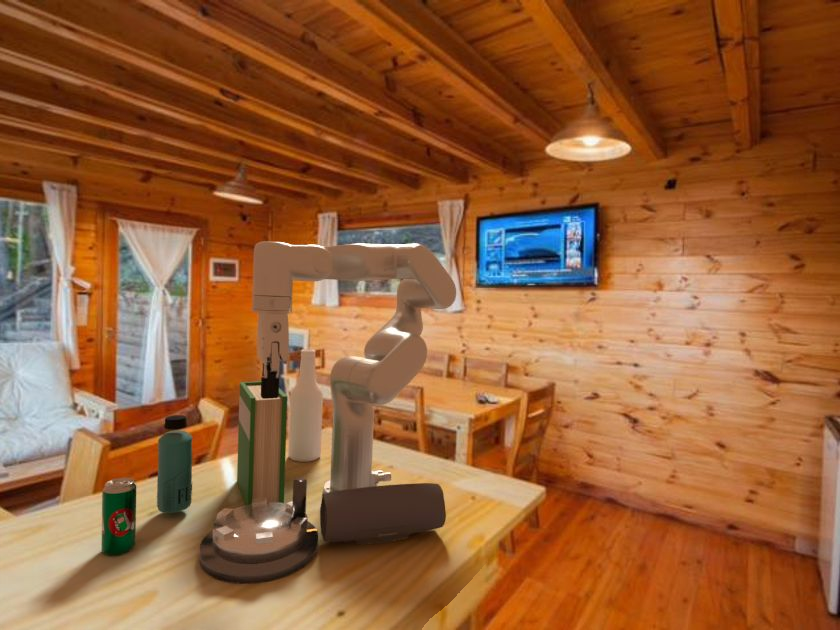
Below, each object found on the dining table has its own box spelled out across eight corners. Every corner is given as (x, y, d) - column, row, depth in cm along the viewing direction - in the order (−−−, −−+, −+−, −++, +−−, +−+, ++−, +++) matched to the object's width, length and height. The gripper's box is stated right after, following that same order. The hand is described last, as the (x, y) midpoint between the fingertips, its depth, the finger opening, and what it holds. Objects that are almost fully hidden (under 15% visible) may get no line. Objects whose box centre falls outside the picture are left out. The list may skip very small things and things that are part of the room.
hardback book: (283, 506, 105) (287, 396, 104) (247, 512, 101) (250, 398, 100) (268, 477, 120) (271, 380, 119) (237, 481, 117) (239, 382, 116)
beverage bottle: (177, 522, 96) (179, 422, 95) (148, 518, 97) (150, 418, 96) (198, 508, 102) (201, 414, 101) (171, 504, 103) (173, 411, 102)
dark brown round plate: (306, 517, 100) (307, 506, 100) (328, 569, 82) (329, 556, 82) (200, 532, 92) (200, 520, 92) (198, 594, 74) (198, 580, 74)
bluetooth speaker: (429, 520, 102) (431, 473, 101) (445, 542, 93) (448, 491, 92) (318, 533, 94) (320, 482, 94) (325, 559, 86) (327, 503, 85)
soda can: (111, 541, 88) (112, 476, 87) (140, 542, 88) (141, 476, 88) (95, 557, 83) (96, 487, 82) (126, 557, 83) (127, 488, 82)
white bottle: (324, 453, 140) (328, 348, 138) (315, 463, 131) (319, 352, 130) (294, 450, 140) (298, 347, 139) (283, 461, 132) (287, 350, 130)
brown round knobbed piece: (313, 554, 83) (315, 497, 82) (210, 570, 77) (212, 509, 76) (300, 512, 97) (302, 464, 97) (213, 523, 92) (215, 472, 91)
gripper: (299, 307, 91) (296, 405, 92) (285, 304, 104) (282, 389, 105) (257, 306, 88) (254, 407, 89) (248, 303, 101) (245, 390, 102)
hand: (269, 397), depth 97 cm, fingers closed
